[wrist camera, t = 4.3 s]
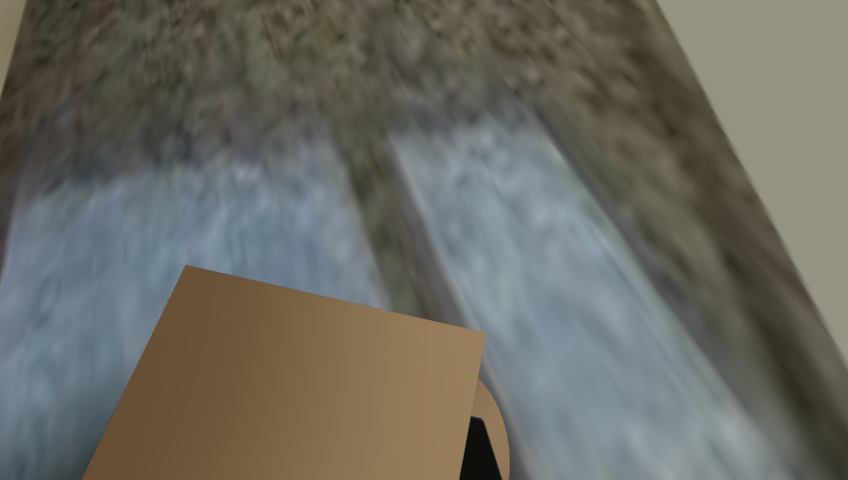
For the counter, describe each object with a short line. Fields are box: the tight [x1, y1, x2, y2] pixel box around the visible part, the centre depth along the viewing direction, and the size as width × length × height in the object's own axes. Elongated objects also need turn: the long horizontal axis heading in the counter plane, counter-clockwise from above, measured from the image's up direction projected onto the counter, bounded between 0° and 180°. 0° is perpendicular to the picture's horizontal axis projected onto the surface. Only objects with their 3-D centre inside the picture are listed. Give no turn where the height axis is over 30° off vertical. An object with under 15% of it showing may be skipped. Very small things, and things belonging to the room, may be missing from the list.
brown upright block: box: [81, 265, 510, 480], centre depth 9 cm, size 7×7×12 cm
